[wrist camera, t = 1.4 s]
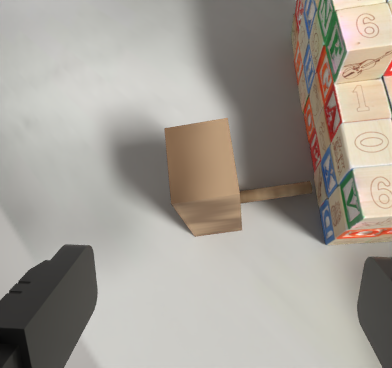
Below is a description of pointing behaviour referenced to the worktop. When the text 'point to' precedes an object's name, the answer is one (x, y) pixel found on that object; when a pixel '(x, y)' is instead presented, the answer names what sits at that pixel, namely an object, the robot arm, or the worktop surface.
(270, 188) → the wooden mallet
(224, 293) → the worktop surface
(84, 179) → the worktop surface
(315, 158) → the stack of blocks
